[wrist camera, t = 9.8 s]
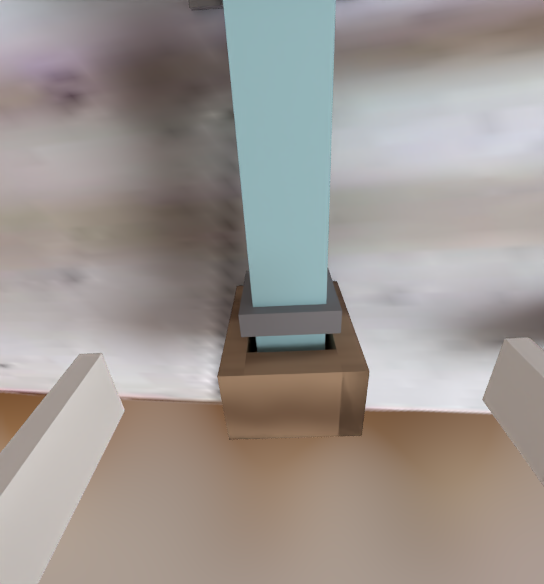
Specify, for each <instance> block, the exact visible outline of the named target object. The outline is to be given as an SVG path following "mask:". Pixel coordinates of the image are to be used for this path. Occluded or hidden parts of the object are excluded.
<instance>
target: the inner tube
mask: <svg viewBox="0 0 544 584" xmlns="http://www.w3.org/2000/svg"><path fill="white" fill-rule="evenodd" d="M335 5H336V0H223V7H224V17H225V27H226V37H227V48H228V58H229V68H230V78H231V88H232V99H233V109H234V119H235V129H236V140H237V150H238V160H239V170H240V180H241V191H242V201H243V211H244V221H245V232H246V242H247V252H248V262H249V271H246V275H245V281H244V286H243V292H242V297H241V303H240V309H239V314H238V316H239V324H240V332H241V337H256V344H257V352H282V351H308V350H325V334H334V333H341V323H342V308H341V305H340V302H339V299H338V297H337V294H336V291H335V288H334V285H333V282H332V279H331V276H330V273H329V270H328V267H327V266H328V234H329V201H330V168H331V135H332V103H333V70H334V37H335Z"/></svg>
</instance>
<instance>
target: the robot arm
mask: <svg viewBox="0 0 544 584" xmlns="http://www.w3.org/2000/svg"><path fill="white" fill-rule="evenodd" d="M482 400H483V401H484V403H485V404H486V406H487V407H488V408H489V410H490V411H491V413H492V414H493V415H494V417H495V418H496V420H497V421H498V422H499V424H500V425H501V427H502V428H503V430H504V431H505V432H506V434H507V435H508V437H509V438H510V439H511V441H512V442H513V444H514V445H515V447H516V448H517V449H518V451H519V452H520V454H521V455H522V456H523V458H524V459H525V461H526V462H527V463H528V465H529V466H530V467H531V469H532V471H533V472H534V473H535V475H536V476H537V478H538V479H539V480H540V482H541V483H542V484H543V486H544V350H543V349H542V348H540V347H539V346H538V345H537V344H536V343H535V342H534V341H533V340H532V339H531V338H505V339H504V342H503V345H502V347H501V350H500V353H499V356H498V358H497V361H496V364H495V366H494V369H493V372H492V375H491V377H490V380H489V383H488V386H487V388H486V391H485V394H484V396H483V399H482ZM124 411H125V410H124V407H123V405H122V402H121V400H120V397H119V395H118V392H117V390H116V387H115V385H114V382H113V380H112V377H111V375H110V372H109V369H108V367H107V364H106V362H105V359H104V357H103V354H102V353H92V354H79V355H78V357H77V358H76V359H75V360H74V362H73V363H72V364H71V365H70V367H69V368H68V369H67V370H66V372H65V373H64V374H63V375H62V377H61V378H60V379H59V380H58V382H57V383H56V384H55V385H54V387H53V388H52V389H51V390H50V392H49V393H48V394H47V395H46V397H45V398H44V399H43V400H42V402H41V403H40V404H39V405H38V407H37V408H36V409H35V410H34V412H33V413H32V414H31V415H30V417H29V418H28V419H27V420H26V422H25V423H24V424H23V425H22V427H21V428H20V429H19V430H18V432H17V433H16V434H15V435H14V437H13V438H12V439H11V440H10V442H9V443H8V444H7V446H6V447H5V448H4V449H3V450H2V452H1V453H0V584H38V583H39V581H40V579H41V577H42V575H43V573H44V570H45V568H46V567H47V565H48V563H49V561H50V559H51V557H52V555H53V553H54V551H55V549H56V547H57V545H58V543H59V541H60V538H61V537H62V535H63V533H64V531H65V529H66V526H67V525H68V523H69V521H70V519H71V517H72V515H73V513H74V511H75V509H76V507H77V505H78V502H79V501H80V499H81V497H82V494H83V493H84V491H85V489H86V487H87V485H88V483H89V481H90V479H91V477H92V475H93V473H94V471H95V469H96V467H97V465H98V463H99V461H100V459H101V457H102V454H103V453H104V451H105V449H106V447H107V445H108V443H109V441H110V439H111V437H112V435H113V433H114V431H115V429H116V427H117V425H118V423H119V421H120V419H121V417H122V415H123V413H124Z"/></svg>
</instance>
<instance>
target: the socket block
mask: <svg viewBox="0 0 544 584" xmlns="http://www.w3.org/2000/svg"><path fill="white" fill-rule="evenodd" d="M333 285H334V288H335V291H336V294H337V297H338V299H339V302H340V305H341V308H342V323H341V333H334V334H325V350H308V351H282V352H257V344H256V337H241V332H240V324H239V316H238V314H239V309H240V303H241V297H242V292H243V286H237V288H236V293H235V298H234V302H233V307H232V312H231V316H230V321H229V325H228V330H227V335H226V339H225V344H224V349H223V353H222V358H221V362H220V367H219V372H218V376H217V377H218V382H219V388H220V393H221V399H222V404H223V410H224V415H225V421H226V426H227V432H228V437H229V440H230V439H263V438H297V437H298V438H299V437H329V436H330V437H333V436H361V435H362V429H363V421H364V412H365V404H366V396H367V387H368V379H369V369H368V366H367V363H366V360H365V358H364V355H363V352H362V349H361V347H360V344H359V341H358V338H357V336H356V333H355V330H354V327H353V324H352V322H351V319H350V316H349V313H348V311H347V308H346V305H345V302H344V300H343V297H342V294H341V291H340V289H339V286H338V283H337V281H336V282H333Z"/></svg>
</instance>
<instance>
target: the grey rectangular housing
mask: <svg viewBox="0 0 544 584" xmlns="http://www.w3.org/2000/svg"><path fill="white" fill-rule="evenodd" d="M189 8H190V9H191V10H203V9H217V8H224V7H223V0H189Z"/></svg>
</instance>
